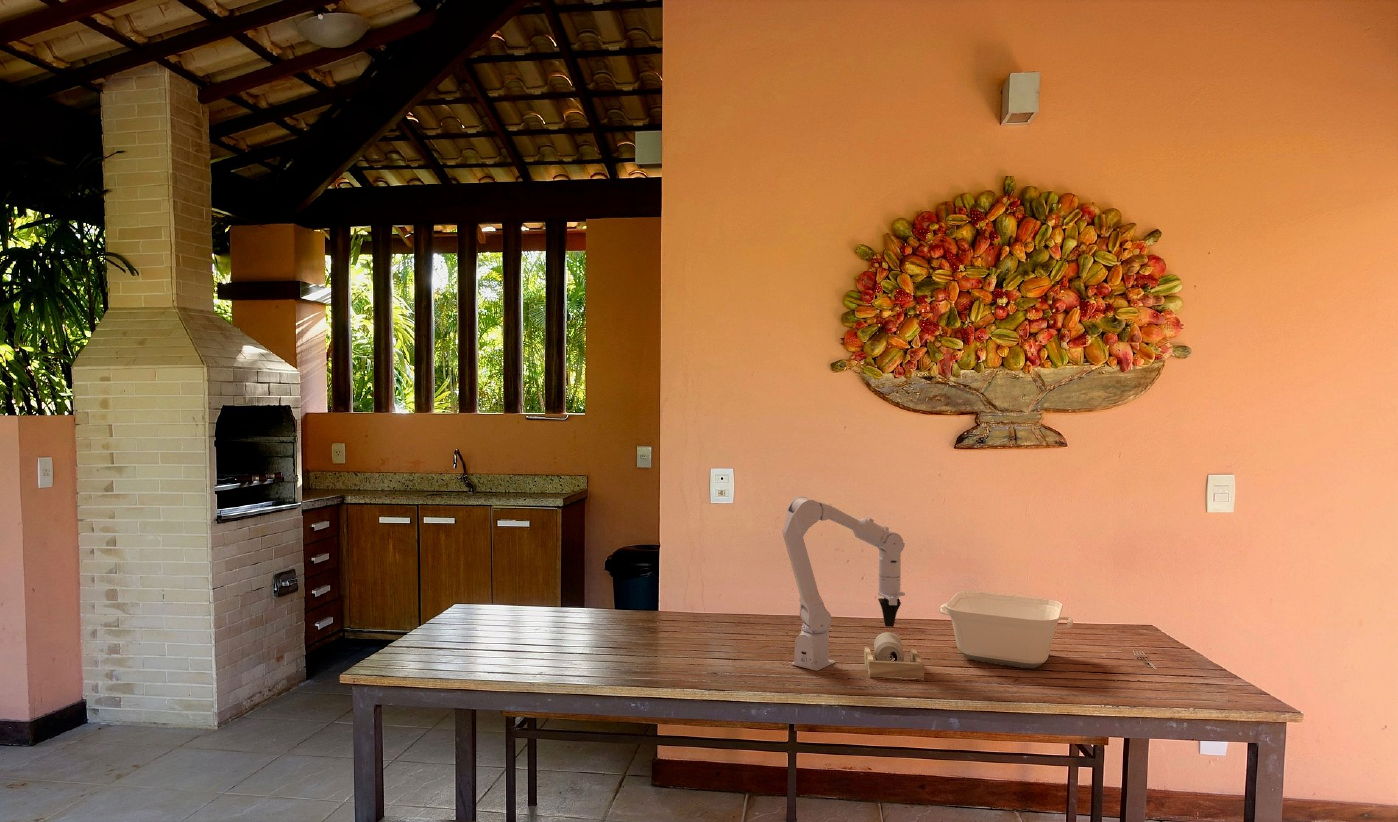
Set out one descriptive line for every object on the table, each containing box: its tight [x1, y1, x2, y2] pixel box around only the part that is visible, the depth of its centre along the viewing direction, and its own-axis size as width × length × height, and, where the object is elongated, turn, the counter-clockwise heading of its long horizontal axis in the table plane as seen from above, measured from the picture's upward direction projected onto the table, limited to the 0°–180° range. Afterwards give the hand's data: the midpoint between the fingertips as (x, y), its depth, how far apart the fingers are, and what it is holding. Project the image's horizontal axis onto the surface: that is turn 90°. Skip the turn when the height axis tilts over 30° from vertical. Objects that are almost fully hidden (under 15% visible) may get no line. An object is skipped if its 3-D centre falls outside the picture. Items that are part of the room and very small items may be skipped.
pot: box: [939, 590, 1074, 669], centre depth 215 cm, size 34×29×15 cm
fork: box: [1132, 650, 1158, 670], centre depth 207 cm, size 3×24×2 cm, turn 168°
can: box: [873, 631, 905, 662], centre depth 207 cm, size 8×8×12 cm
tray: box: [863, 645, 925, 680], centre depth 203 cm, size 14×13×4 cm
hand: (889, 626), depth 211 cm, fingers closed
